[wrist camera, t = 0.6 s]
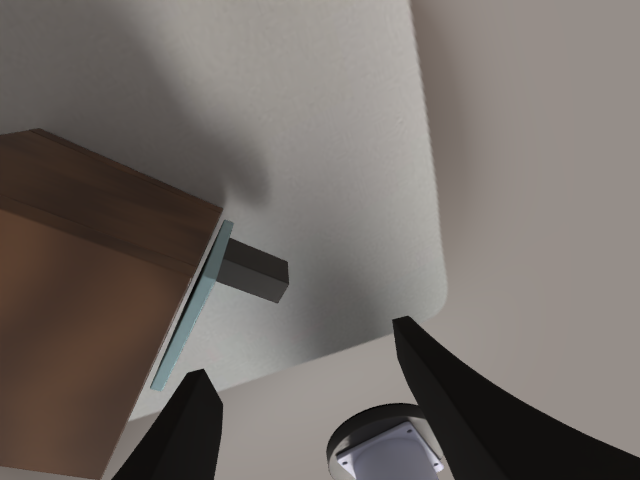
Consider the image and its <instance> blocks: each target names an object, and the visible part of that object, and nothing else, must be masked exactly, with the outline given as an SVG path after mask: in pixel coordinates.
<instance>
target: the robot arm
mask: <svg viewBox="0 0 640 480" xmlns="http://www.w3.org/2000/svg"><path fill="white" fill-rule="evenodd" d="M392 323H393V330H394V337H395V344H396V350H397V358H398V361H399V363H400V366H401V368H402V371H403V374H404V376H405V379H406V381H407V384H408V386H409V388H410V390H411V392H412V393H413V395H414V397H415V399H416V401H417V403H418V405H419V407H420V409H421V411H422V413H423V415H424V417H425V419H426V420H427V422H428V424H429V426H430V428H431V430H432V432H433V434H434V436H435V438H436V440H437V441H438V443H439V445H440V447H441V450H442V452H443V454H444V456H445V458H446V460H447V462H448V465H449V467H450V470H451V472H452V474H453V477H454V479H455V480H640V458H639V457H637V456H634V455H632V454H630V453H627V452H625V451H623V450H620V449H618V448H616V447H613V446H611V445H609V444H606V443H604V442H602V441H599V440H597V439H595V438H593V437H590V436H588V435H586V434H584V433H582V432H580V431H578V430H576V429H574V428H572V427H569V426H567V425H566V424H563V423H562V422H560V421H558V420H556V419H554V418H552V417H550V416H548V415H547V414H545V413H543V412H541V411H539V410H537V409H535V408H534V407H532V406H530V405H528V404H526V403H524V402H523V401H521V400H519V399H518V398H516V397H514V396H513V395H511V394H509V393H508V392H506V391H504V390H503V389H501V388H500V387H498V386H496V385H495V384H493V383H492V382H490V381H489V380H487V379H486V378H484V377H483V376H482V375H480V374H479V373H477V372H476V371H474V370H473V369H472V368H470V367H469V366H468V365H466V364H465V363H463V362H462V361H461V360H459V359H458V358H457V357H456V356H454V355H453V354H452V353H451V352H449V351H448V350H447V349H446V348H444V347H443V346H442V345H441V344H440V343H438V342H437V341H436V340H435V339H434V338H433V337H431V336H430V335H429V334H428V333H427V332H426V331H424V329H422V328H421V327H420V326H419V325H418V324H417V323H416V322H415V321H414V320H413V319H412V318H411V317H409V316H404V317H401V318H397V319H393V320H392ZM222 420H223V403H222V401H221V399H220V398H219V396H218V394H217V392H216V390H215V388H214V386H213V385H212V383H211V381H210V379H209V377H208V375H207V374H206V372H205V370H204V369H200V370H196V371H192V372H188V373H187V374H186V376H185V377H184V379H183V380H182V382H181V383H180V385H179V386H178V388H177V389H176V391H175V392H174V394H173V395H172V397H171V398H170V400H169V401H168V403H167V404H166V406H165V407H164V409H163V410H162V412H161V413H160V415H159V416H158V418H157V419H156V420H155V422H154V423H153V425H152V426H151V428H150V429H149V431H148V432H147V433H146V435H145V436H144V437H143V439H142V440H141V441H140V443H139V444H138V445H137V447H136V448H135V449H134V451H133V452H132V454H131V455H130V456H129V458H128V459H127V460H126V462H125V463H124V464H123V466H122V467H121V468H120V469H119V471H118V472H117V473H116V475H115V476H114V477H113V478H112V479H111V480H214V475H215V470H216V464H217V458H218V452H219V446H220V440H221V434H222ZM337 462H338V463H339V464H340V465H341V466H342V467H343V468H344V469H345V470H346V471H348V472H349V473H350V474H351V475H352V476H353V477H354V478H355V479H356V480H439V479H438V476H437V474H436V473H437V472H439V471H441V470H442V469H443V468H444V466H443V464H442V462H441V461H440V460H439V458H438V457H437V456H436V455H435V453H434V452H433V451H432V449H431V448H430V447H429V445H428V444H427V443H426V442H425V440H424V439H423V438H422V436H421V435H420V434H419V433H418V431H417V430H416V429H415V427H414V426H413V425H412V424H411V422H408V421H406V422H403V423H401V424H399V425H397V426H395V427H393V428H391V429H389V430H387V431H385V432H383V433H381V434H379V435H377V436H375V437H373V438H371V439H369V440H367V441H365V442H363V443H361V444H359V445H357V446H355V447H353V448H351V449H349V450H347V451H345V452H343V453H341V454H339V455H338V456H337Z"/></svg>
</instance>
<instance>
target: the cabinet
mask: <svg viewBox="0 0 640 480" xmlns="http://www.w3.org/2000/svg"><path fill="white" fill-rule="evenodd" d="M222 211H223V209H222V208H220V207H218V206H215V205H213V204H211V203H208V202H206V201H204V200H202V199H199V198H197V197H195V196H192V195H190V194H188V193H186V192H183V191H181V190H179V189H176V188H174V187H172V186H170V185H167V184H165V183H163V182H160V181H158V180H156V179H154V178H151V177H149V176H147V175H145V174H142V173H140V172H138V171H135V170H133V169H131V168H129V167H126V166H124V165H122V164H119V163H117V162H115V161H113V160H110V159H108V158H106V157H103V156H101V155H99V154H97V153H94V152H92V151H90V150H88V149H85V148H83V147H81V146H78V145H76V144H74V143H72V142H69V141H67V140H65V139H62V138H60V137H58V136H56V135H53V134H51V133H49V132H46V131H44V130H42V129H40V128H38V129H32V130H29V131H21V132H15V133H8V134H2V135H0V466H4V467H10V468H17V469H25V470H32V471H38V472H46V473H53V474H60V475H67V476H74V477H81V478H88V479H95V480H101V479H102V477H103V475H104V472H105V470H106V468H107V466H108V464H109V461H110V459H111V457H112V455H113V453H114V450H115V448H116V446H117V444H118V441H119V439H120V437H121V435H122V433H123V431H124V428H125V426H126V424H127V422H128V420H129V417H130V415H131V413H132V411H133V408H134V406H135V404H136V402H137V400H138V397H139V395H140V393H141V391H142V389H143V386H144V384H145V382H146V380H147V378H148V375H149V373H150V371H151V369H152V367H153V364H154V362H155V360H156V358H157V356H158V353H159V351H160V349H161V347H162V345H163V342H164V340H165V338H166V336H167V333H168V331H169V329H170V327H171V325H172V322H173V320H174V318H175V316H176V314H177V311H178V309H179V307H180V305H181V303H182V300H183V298H184V296H185V294H186V292H187V289H188V287H189V285H190V283H191V281H192V278H193V276H194V274H195V272H196V269H197V267H198V265H199V263H200V260H201V258H202V256H203V254H204V251H205V249H206V247H207V245H208V242H209V240H210V238H211V236H212V233H213V231H214V229H215V227H216V224H217V222H218V220H219V218H220V215H221V213H222Z"/></svg>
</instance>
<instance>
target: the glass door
mask: <svg viewBox="0 0 640 480" xmlns="http://www.w3.org/2000/svg"><path fill="white" fill-rule="evenodd" d="M233 225H234V223H232V222H230V221H228V220H224V221H223V224H222V226H221V228H220V230H219V232H218V235H217V237H216V239H215V241H214V243H213V245H212V248H211V250H210V252H209V254H208V256H207V258H206V261H205V263H204V265H203V267H202V269H201V271H200V274H199V276H198V278H197V280H196V282H195V285H194V287H193V289H192V291H191V293H190V295H189V298H188V300H187V302H186V304H185V306H184V309H183V311H182V313H181V316H180V318H179V320H178V323H177V325H176V327H175V330H174V332H173V334H172V337H171V339H170V342H169V344H168V346H167V349H166V351H165V353H164V356H163V358H162V360H161V363H160V365H159V367H158V370H157V372H156V375H155V377H154V379H153V382H152V384H151V386H150V389H153V390H157V391H162V390H163V388H164V386H165V384H166V382H167V380H168V378H169V376H170V374H171V372H172V370H173V368H174V366H175V364H176V361H177V359H178V357H179V355H180V353H181V351H182V349H183V347H184V345H185V343H186V341H187V339H188V337H189V335H190V333H191V331H192V329H193V326H194V324H195V322H196V320H197V318H198V316H199V314H200V312H201V310H202V308H203V306H204V304H205V302H206V300H207V298H208V296H209V293H210V291H211V289H212V287H213V285H214V283H215V281H217V282H220V283H222V284H225V285H228V286H231V287H234V288H236V289H239V290H242V291H245V292H247V293H250V294H253V295H256V296H258V297H261V298H264V299H267V300H269V301H272V302H275V303H278V302H279V300H280V299H281V297H282V295H283V294H284V292H285V290H286V288H287V287H288V285H289V275H288V262H287V261H285V260H282V259H280V258H278V257H275V256H273V255H270V254H268V253H265V252H263V251H261V250H258V249H256V248H253V247H251V246H248V245H246V244H244V243H241V242H239V241H236V240H234V239H231V238H229V237H230V234H231V231H232V228H233Z"/></svg>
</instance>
